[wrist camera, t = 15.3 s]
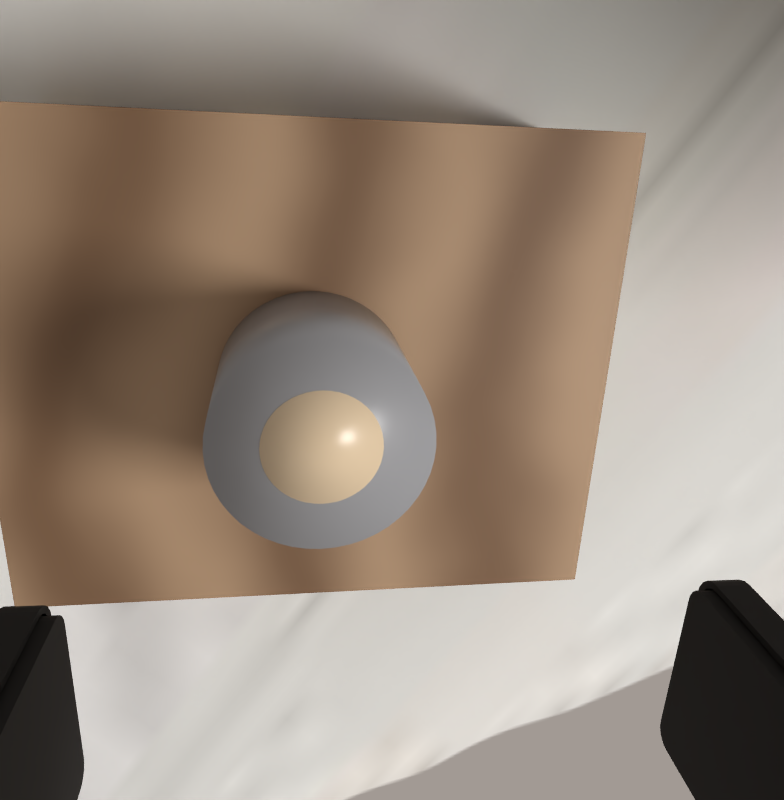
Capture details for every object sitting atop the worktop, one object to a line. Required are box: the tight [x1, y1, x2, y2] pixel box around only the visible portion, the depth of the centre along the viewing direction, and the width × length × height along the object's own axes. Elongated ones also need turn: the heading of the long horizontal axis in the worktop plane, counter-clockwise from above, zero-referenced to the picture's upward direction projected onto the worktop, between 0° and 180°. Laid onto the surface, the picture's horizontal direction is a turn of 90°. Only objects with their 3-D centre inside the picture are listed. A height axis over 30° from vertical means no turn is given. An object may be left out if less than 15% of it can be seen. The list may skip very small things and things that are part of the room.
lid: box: [0, 101, 646, 606], centre depth 24 cm, size 20×16×1 cm
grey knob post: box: [203, 291, 436, 549], centre depth 21 cm, size 6×6×5 cm
